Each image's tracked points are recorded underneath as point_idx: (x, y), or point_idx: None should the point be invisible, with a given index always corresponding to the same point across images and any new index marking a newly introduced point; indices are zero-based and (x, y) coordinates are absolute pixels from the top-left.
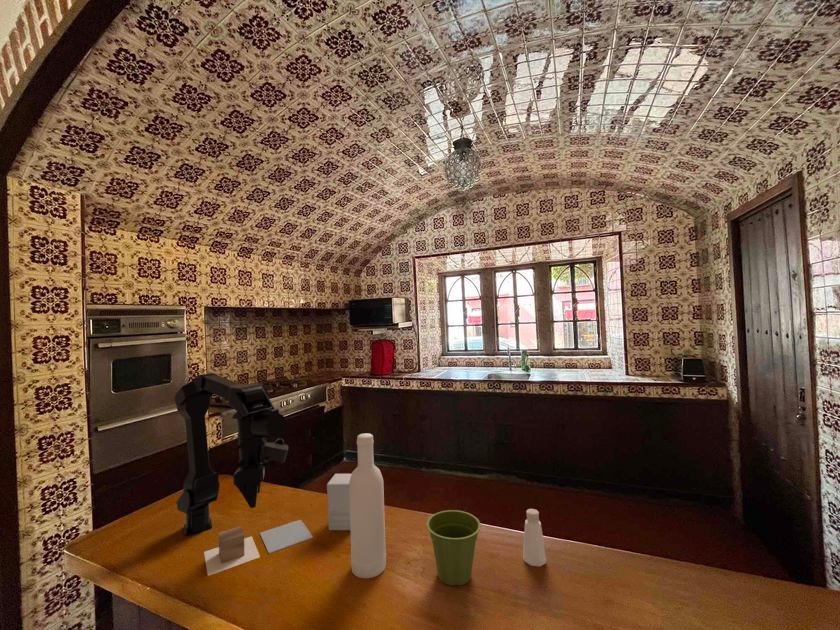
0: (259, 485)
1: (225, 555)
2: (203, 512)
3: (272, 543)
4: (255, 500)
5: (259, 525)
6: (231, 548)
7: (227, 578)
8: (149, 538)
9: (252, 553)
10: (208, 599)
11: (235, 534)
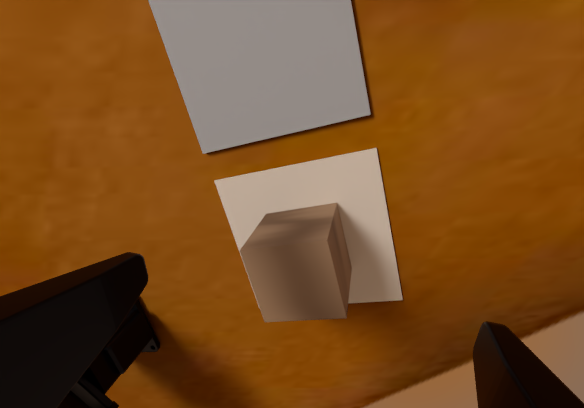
0: (87, 291)
1: (347, 269)
2: (101, 353)
3: (303, 101)
4: (572, 398)
5: (144, 154)
6: (342, 262)
7: (451, 249)
8: (150, 403)
9: (335, 176)
10: (539, 296)
11: (308, 271)
